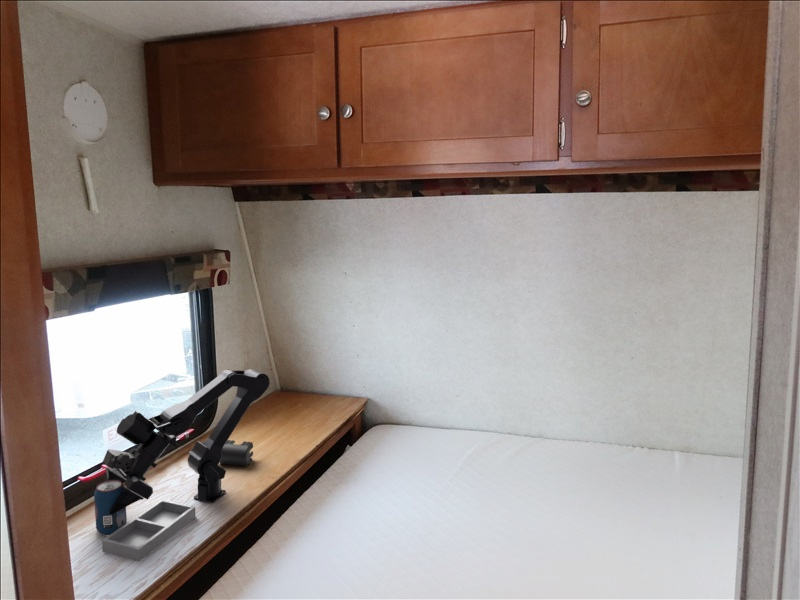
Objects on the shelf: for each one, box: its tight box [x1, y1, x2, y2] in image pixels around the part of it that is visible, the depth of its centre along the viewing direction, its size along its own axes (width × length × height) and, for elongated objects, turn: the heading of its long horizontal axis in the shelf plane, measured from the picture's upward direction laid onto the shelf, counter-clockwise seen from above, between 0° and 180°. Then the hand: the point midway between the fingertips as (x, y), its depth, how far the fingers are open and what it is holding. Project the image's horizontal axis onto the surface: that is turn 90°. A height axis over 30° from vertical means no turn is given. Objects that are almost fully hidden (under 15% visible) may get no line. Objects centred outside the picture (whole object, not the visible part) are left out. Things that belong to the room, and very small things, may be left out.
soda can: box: [93, 480, 128, 536], centre depth 146 cm, size 7×7×12 cm
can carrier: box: [101, 499, 197, 562], centre depth 146 cm, size 20×11×3 cm, turn 162°
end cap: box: [219, 439, 254, 467], centre depth 185 cm, size 10×7×7 cm
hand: (104, 506), depth 145 cm, fingers open, 8 cm apart
